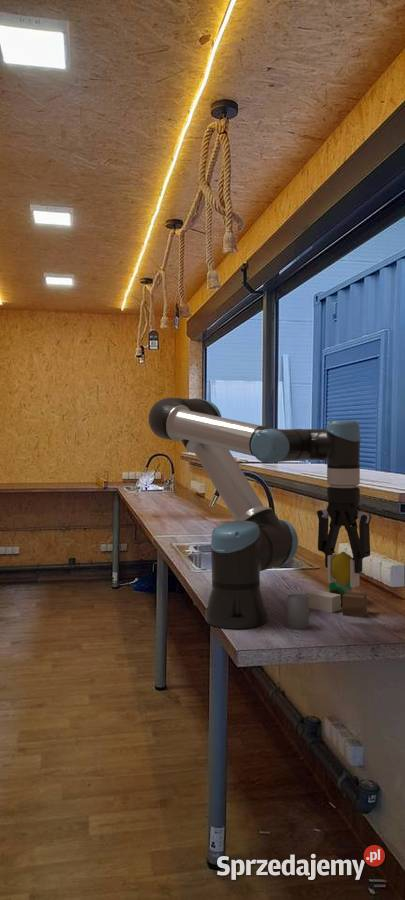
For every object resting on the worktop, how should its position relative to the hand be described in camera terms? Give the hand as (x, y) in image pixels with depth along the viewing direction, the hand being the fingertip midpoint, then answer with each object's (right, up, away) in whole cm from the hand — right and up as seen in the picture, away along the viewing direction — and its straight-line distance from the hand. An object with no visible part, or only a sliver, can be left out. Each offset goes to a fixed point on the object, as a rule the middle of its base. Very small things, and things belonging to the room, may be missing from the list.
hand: (343, 584), depth 149 cm
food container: (+4, -9, +19) cm, 22 cm away
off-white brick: (-2, -9, +14) cm, 17 cm away
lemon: (0, -1, 0) cm, 1 cm away
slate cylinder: (-11, -10, -1) cm, 15 cm away
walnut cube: (+5, -9, +8) cm, 13 cm away
